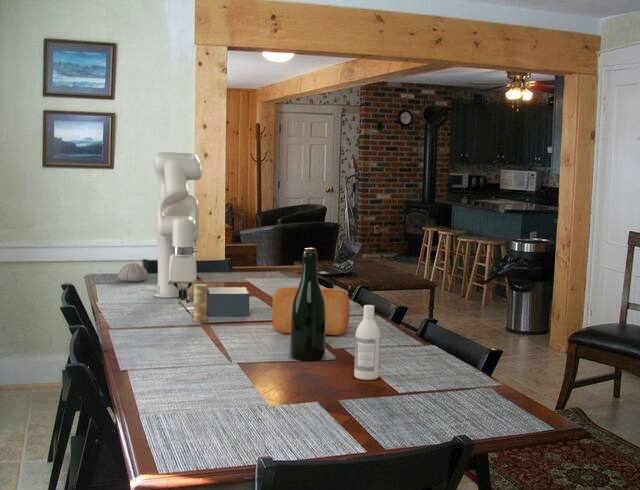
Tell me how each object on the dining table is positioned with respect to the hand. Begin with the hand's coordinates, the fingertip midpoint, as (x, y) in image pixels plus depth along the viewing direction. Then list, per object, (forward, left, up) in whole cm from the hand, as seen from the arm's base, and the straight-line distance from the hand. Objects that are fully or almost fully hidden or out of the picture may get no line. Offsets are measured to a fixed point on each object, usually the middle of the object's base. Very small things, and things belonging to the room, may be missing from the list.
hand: (182, 300), depth 299 cm
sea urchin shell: (-20, +81, -5) cm, 84 cm away
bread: (+40, -42, +3) cm, 58 cm away
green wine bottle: (+34, -71, -5) cm, 79 cm away
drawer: (+10, 0, -4) cm, 11 cm away
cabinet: (+17, 0, -5) cm, 17 cm away
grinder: (+6, -14, -5) cm, 16 cm away
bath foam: (+47, -95, -5) cm, 106 cm away
